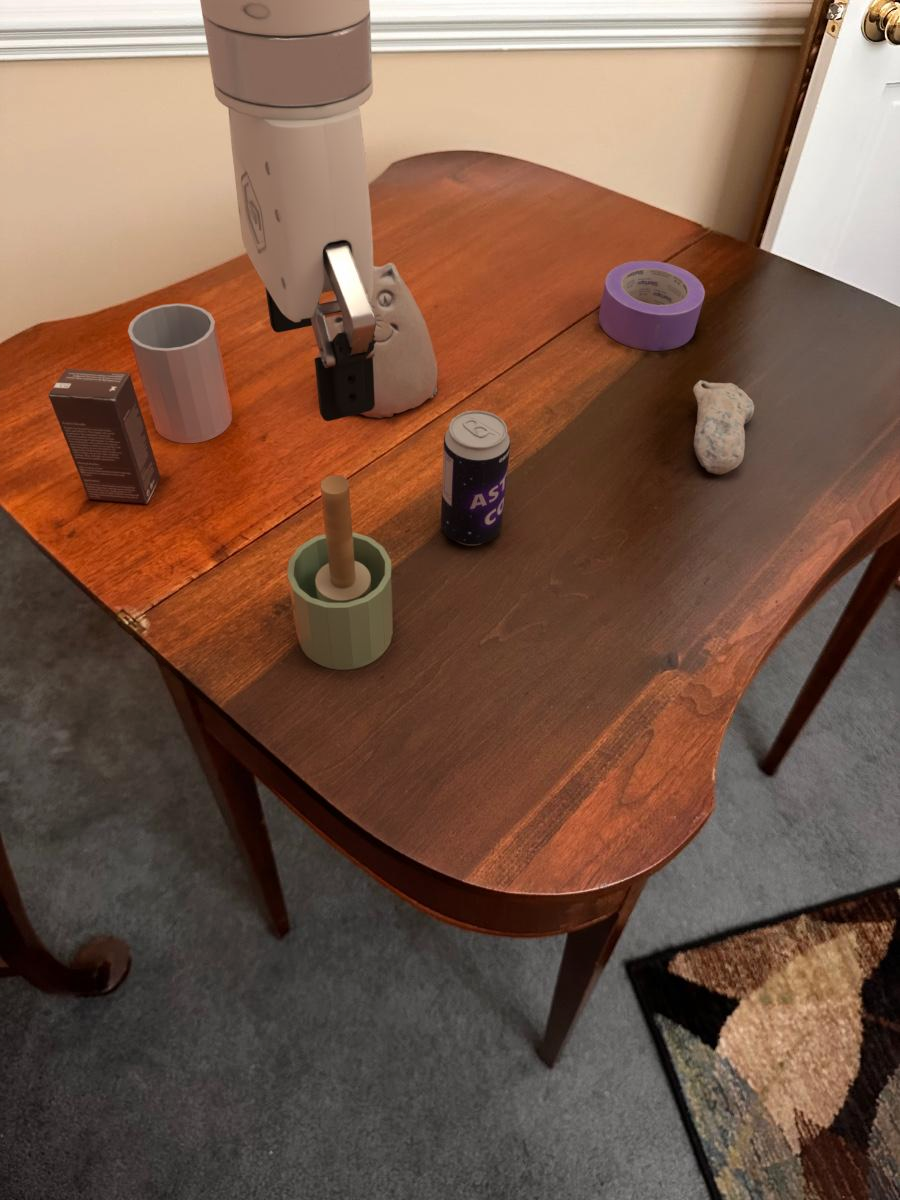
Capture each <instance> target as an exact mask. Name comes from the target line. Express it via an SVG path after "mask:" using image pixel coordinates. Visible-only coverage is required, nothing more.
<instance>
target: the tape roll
mask: <svg viewBox="0 0 900 1200" xmlns="http://www.w3.org/2000/svg"><path fill="white" fill-rule="evenodd" d="M705 295H706V293H705V288H704V285H703V284H702V282H701V281H700V280H699V278H698V277H696V276H695V275H694V274H692V273H691V272H689V271H688V270H686V269H684V268H682V267H679V266H676V265H674V264H671V263H666V262H662V261H655V260H636V261H635V260H634V261H628V262H625V263H621V264H618V265H617V266H615V267H614V268H612V269H611V270H610V271H609V272H608V274H607V275H606V277H605V281H604V285H603V291H602V296H601V302H600V306H599V313H598V323H599V326H600V327H601V329H602V331H603V332H605V334H607V336H608V337H610V338H611V339H612V340H614V341H616V342H617V343H619V344H622V345H623V346H626V347H629V348H633V349H637V350H641V351H647V352H648V351H649V352H663V351H670V350H674V349H678V348H680V347H682V346H684V345H686V344H687V343H688V342H689V341H691V339H692V338H693V337H694V335H695V332H696V327H697V324H698V321H699V317H700V313H701V309H702V306H703V303H704V299H705Z"/></svg>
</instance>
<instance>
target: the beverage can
mask: <svg viewBox="0 0 900 1200" xmlns="http://www.w3.org/2000/svg"><path fill="white" fill-rule="evenodd" d="M508 433H509V432H508V427H507V424H506V423H505V422H504V420H503V419H502V418H501V417H500V416H499V415H496V414H494V413H491V412H489V411H485V410H467V411H464V412H461V413H459V414H457V415H456V416H454V417H453V418H452V419H451V420H450V423H449V425H448V428H447V430H446V431H445V434H444V437H443V450H442V451H443V452H442V453H443V454H442V476H441V477H442V478H441V480H442V481H441V505H440V506H441V507H440V526H441V529H442V531H443V532H444V534H445V535H446V536H447V537H448V538H449V539H451V540H453V541H454V542H457V543H458V544H461V545H465V546H479V545H482V544H484V543H488V542H490V541H492V540H493V539H494V538H496V537H497V536H498V535H499V533H500V531H501V529H502V522H503V515H504V514H503V513H504V505H505V496H506V488H507V487H506V486H507V478H508V469H509V459H510V450H511V437H510V435H509V434H508Z"/></svg>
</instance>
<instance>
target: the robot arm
mask: <svg viewBox="0 0 900 1200" xmlns="http://www.w3.org/2000/svg"><path fill="white" fill-rule="evenodd" d="M199 1H200V8H201V15H202V21H203V28H204V35H205V40H206V46H207V53H208V60H209V65H210V71H211V72H210V73H211V78H212V84H213V90H214V96H215V98H216V99H217V100H218V102H219V103H220V104H221V105H223V106H224V107H226V108H227V109H228V122H229V134H230V143H231V144H230V145H231V155H232V162H233V172H234V181H235V190H236V198H237V200H236V201H237V208H238V217H239V225H240V232H241V233H240V234H241V239H242V243H243V247H244V249H245V253H246V255H247V256H248V258H249V260H250V262H251V264H252V266H253V268H254V269H255V271H256V273H257V275H258V276H259V278H260V280H261V282H262V284H263V285H264V287H265V294H266V295H265V296H266V302H267V308H268V309H267V311H268V316H269V323H270V327H271V329H272V330H273V332H275V333H284V332H289V331H293V330H298V329H303V328H307V327H311V326H312V329H313V334H314V338H315V341H316V345H317V348H318V353H319V352H320V356H321V357H318V356H317V357H315V358H314V368H315V378H316V387H317V397H318V408H319V409H318V410H319V414H320V416H321V418H322V420H324V421H325V422H332V421H335V420H340V419H343V418H347V417H351V416H356V415H361V414H360V413H364V412H368V411H371V410H372V409H373V408H374V406H375V397H374V372H373V357H374V355H375V351H374V344H375V343H376V341H375V340H374V338H375V335H374V332H375V328H376V318H375V314H374V311H373V308H372V306H371V303H370V301H371V299H372V296H373V285H374V266H375V265H374V241H373V224H372V212H371V211H372V210H371V199H370V187H369V179H368V177H369V176H368V167H367V158H366V157H367V155H366V150H365V142H364V134H363V133H364V132H363V126H362V125H363V123H362V118H361V109H360V107H361V106H363V105H365V103H366V102H367V101H369V100H370V99H371V97H372V95H373V91H374V79H373V63H372V62H373V60H372V59H373V57H372V56H373V55H372V27H371V26H372V25H371V23H372V22H371V7H370V6H371V5H370V4H371V3H370V0H199ZM330 292H333V293H334V297H335V296H336V299H337V300H336V301H328V302H327V301H326V302H322V303H320V299H321V296H322V294H326V293H330ZM341 314H342V317H343V325H342V327H343V329H344V332H342V333H338V334H337V335H336V336H335V337H334V339H333V340H332V341H331V338H330V334H329V330H328V327H327V323H326V320H327V317H331V316H336V315H341Z"/></svg>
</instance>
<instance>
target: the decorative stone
mask: <svg viewBox="0 0 900 1200" xmlns="http://www.w3.org/2000/svg"><path fill="white" fill-rule="evenodd" d="M692 392H693V394H694V397H695V399H696V402H697V414H696V415H697V417H696V424H695V432H694V439H693V448H694V452H695V453H694V454H695V456H696V458H697V460H698V463H699V464H700V465H701V467H702V468H704V469H705V470H706V471H707V472H708V473H711V474H713V475H723V474H727V473H729V472H731V471H732V470H735V469H736V468H738V467H739V466H740V465H741V463H742V462H743V460H744V456H745V450H746V449H745V448H746V434H745V433H746V431H745V424H747V423H748V422H749V421H750V420H751V419H752V417H753V415H754V412H755V404H754V402H753V399H751V398H750V397H749V395H747V393H746V392H745V391H744V389H741V388H739V387H738V385H736V384H734V383H732V382H725V383H724V382H723V383H722V382H708V381H706V380H699V381H698V382H696V383H695V385H694V386H693V388H692Z"/></svg>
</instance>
